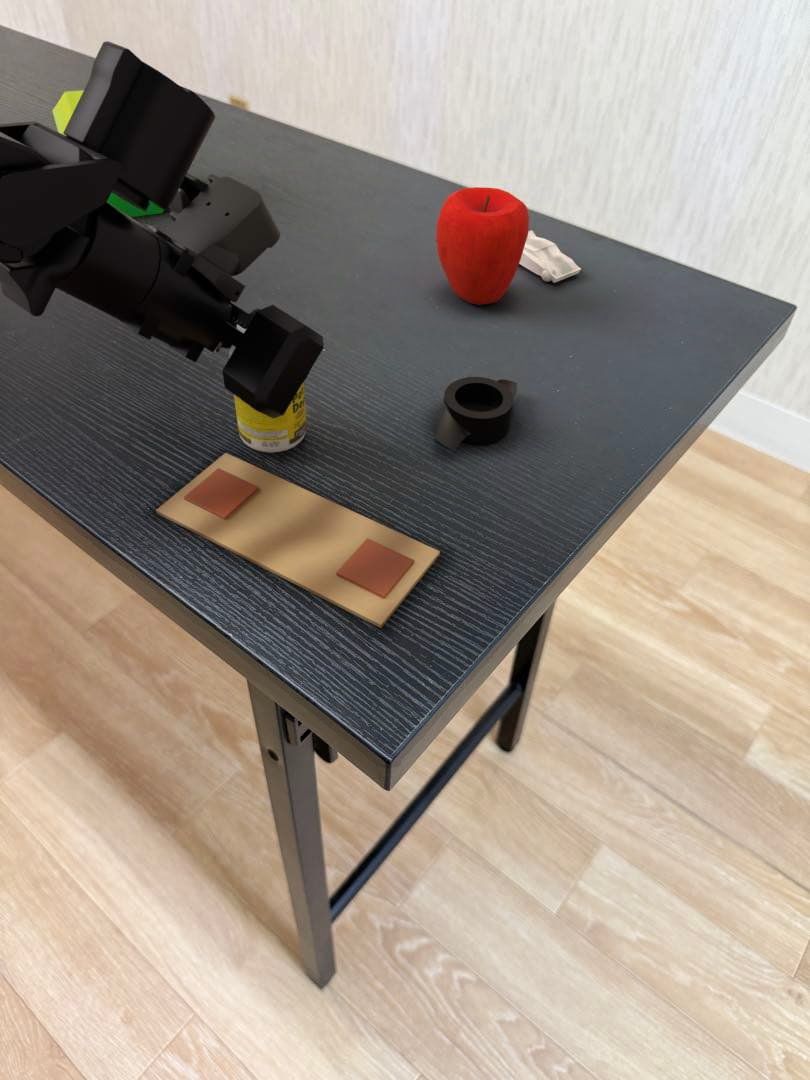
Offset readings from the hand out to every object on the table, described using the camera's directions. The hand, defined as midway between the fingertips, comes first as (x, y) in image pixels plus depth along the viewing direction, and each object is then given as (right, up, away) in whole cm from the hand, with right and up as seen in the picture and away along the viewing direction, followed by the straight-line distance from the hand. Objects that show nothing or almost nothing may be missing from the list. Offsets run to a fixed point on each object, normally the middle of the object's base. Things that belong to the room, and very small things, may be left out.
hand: (281, 359), depth 63 cm
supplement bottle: (-1, -5, +4) cm, 7 cm away
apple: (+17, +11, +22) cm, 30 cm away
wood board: (+2, -14, -3) cm, 14 cm away
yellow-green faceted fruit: (-24, +27, +35) cm, 51 cm away
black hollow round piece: (+16, -4, +7) cm, 18 cm away
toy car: (+25, +16, +27) cm, 40 cm away
